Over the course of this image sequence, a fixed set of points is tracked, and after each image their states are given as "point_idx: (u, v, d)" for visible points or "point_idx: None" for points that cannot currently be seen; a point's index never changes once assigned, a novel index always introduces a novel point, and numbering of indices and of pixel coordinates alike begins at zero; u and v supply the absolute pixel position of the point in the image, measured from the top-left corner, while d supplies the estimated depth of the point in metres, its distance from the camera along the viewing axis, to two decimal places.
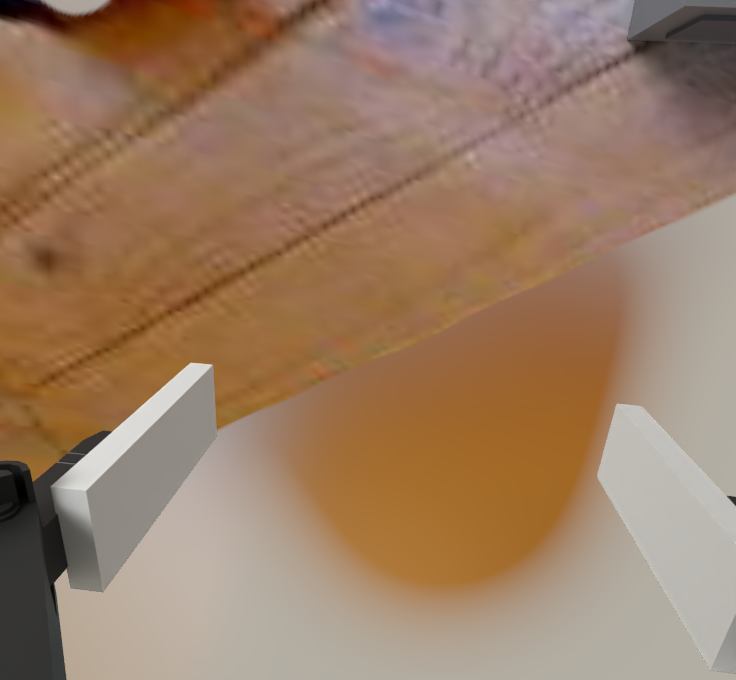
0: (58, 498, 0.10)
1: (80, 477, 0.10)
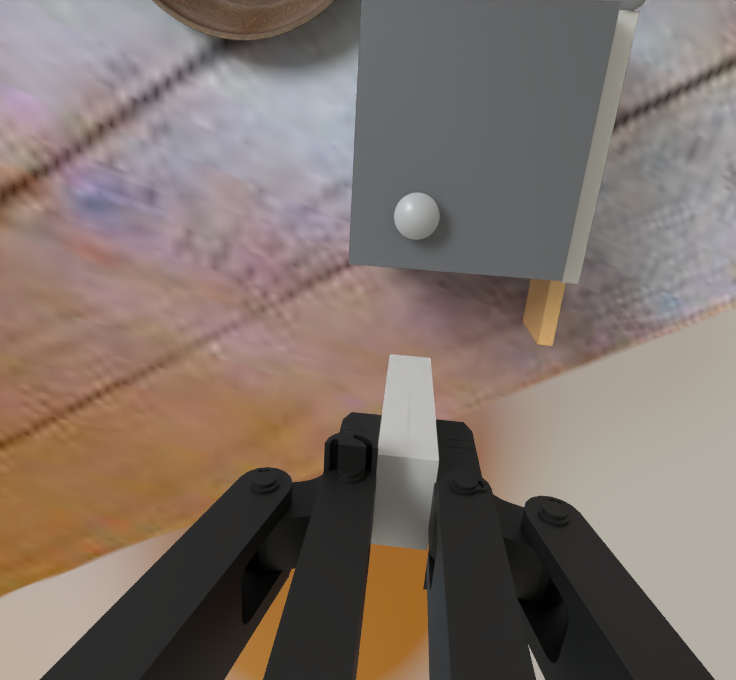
0: (380, 464, 0.12)
1: (393, 447, 0.12)
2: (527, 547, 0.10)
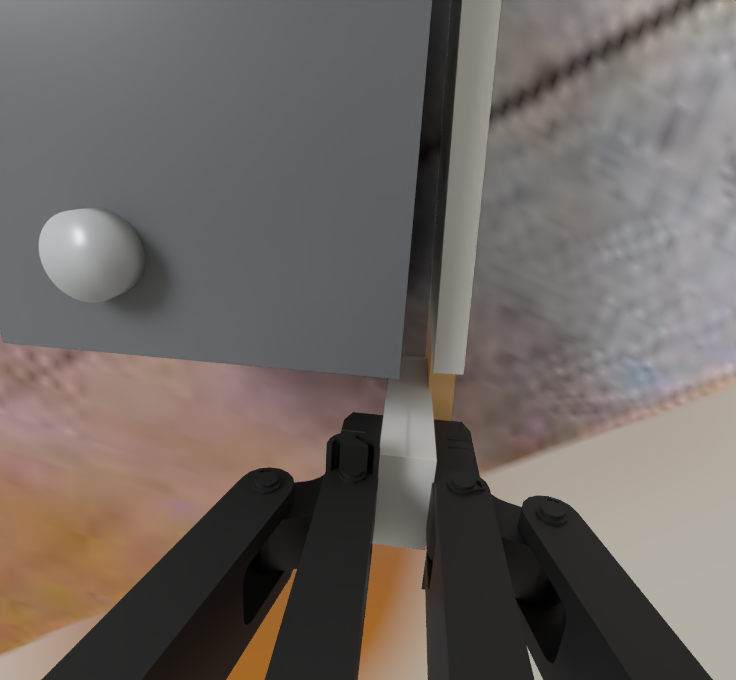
0: (382, 464, 0.12)
1: (395, 447, 0.12)
2: (524, 546, 0.10)
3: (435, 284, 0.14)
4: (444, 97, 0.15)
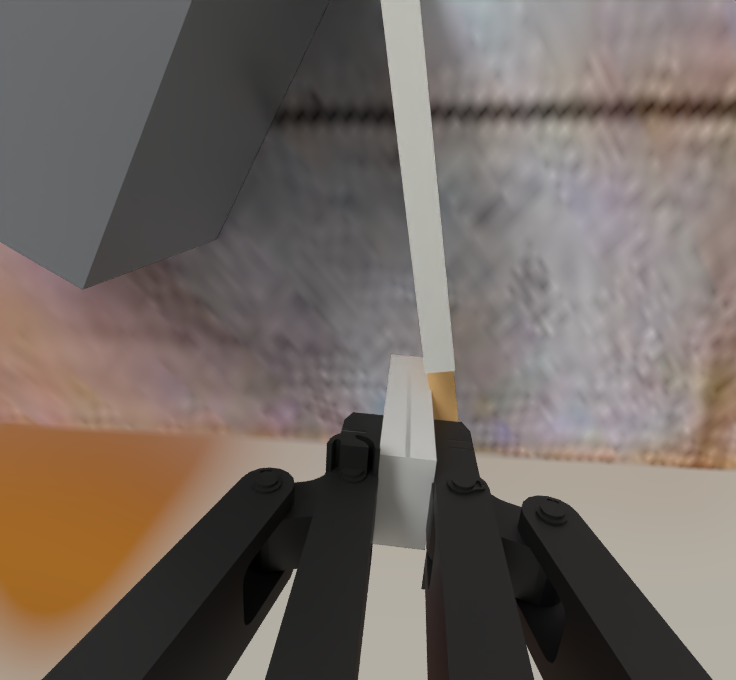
0: (382, 464, 0.12)
1: (395, 447, 0.12)
2: (524, 546, 0.10)
3: None
4: None
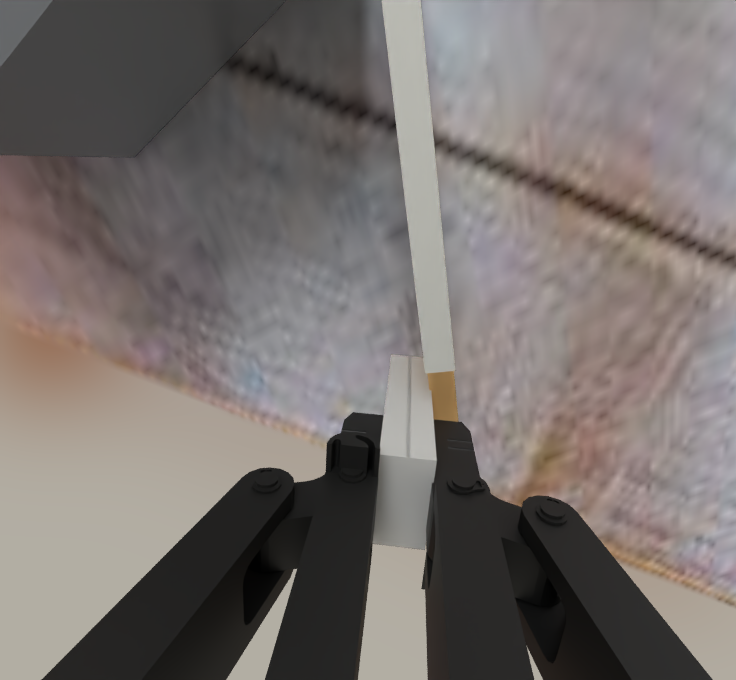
0: (382, 464, 0.12)
1: (395, 447, 0.12)
2: (524, 546, 0.10)
3: None
4: None
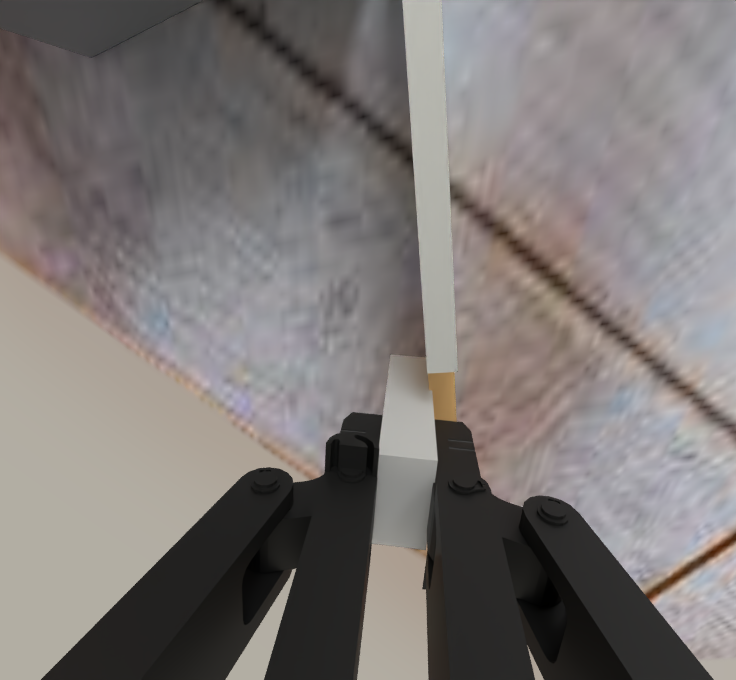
0: (381, 464, 0.12)
1: (394, 447, 0.12)
2: (525, 546, 0.10)
3: None
4: None
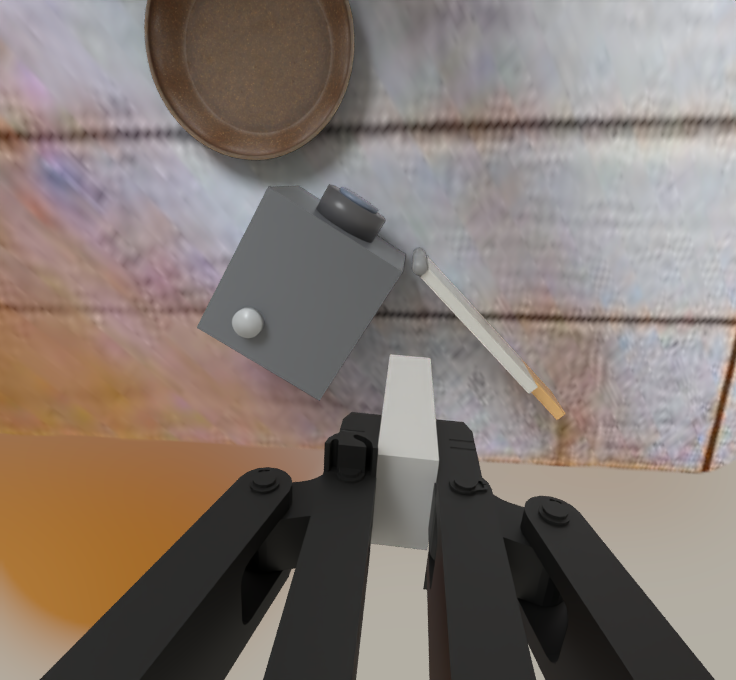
0: (380, 464, 0.12)
1: (393, 447, 0.12)
2: (527, 547, 0.10)
3: None
4: None
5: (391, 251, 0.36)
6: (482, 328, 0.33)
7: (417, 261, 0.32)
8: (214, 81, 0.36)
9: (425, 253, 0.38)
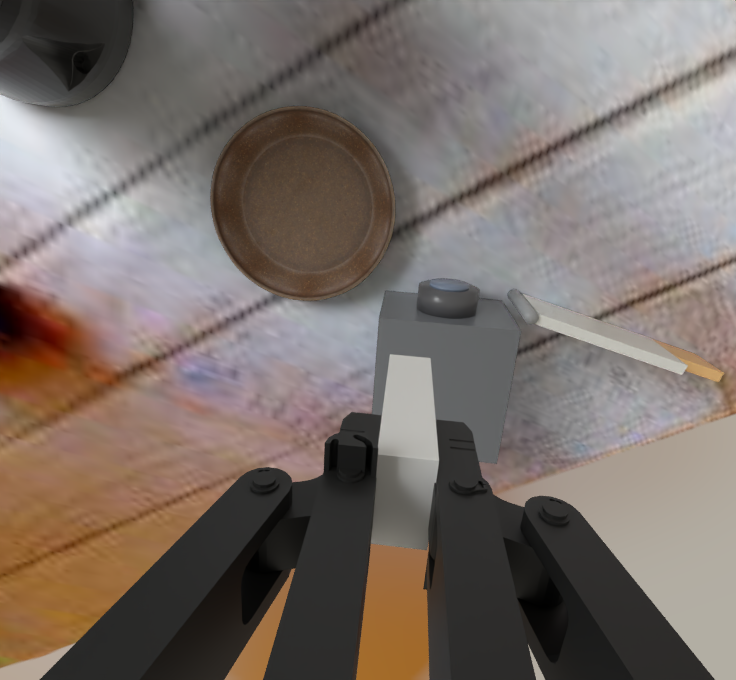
0: (380, 464, 0.12)
1: (393, 447, 0.12)
2: (527, 546, 0.10)
3: None
4: None
5: (493, 309, 0.38)
6: (611, 340, 0.35)
7: (527, 313, 0.35)
8: (283, 246, 0.41)
9: None
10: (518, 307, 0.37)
